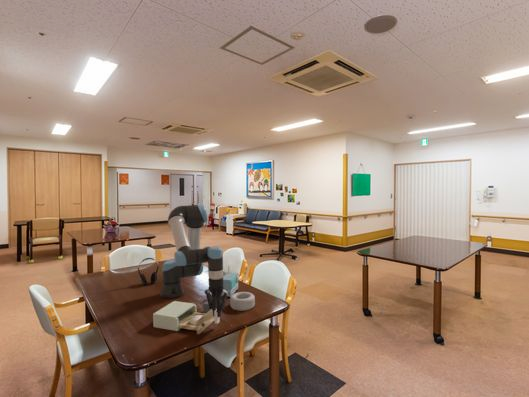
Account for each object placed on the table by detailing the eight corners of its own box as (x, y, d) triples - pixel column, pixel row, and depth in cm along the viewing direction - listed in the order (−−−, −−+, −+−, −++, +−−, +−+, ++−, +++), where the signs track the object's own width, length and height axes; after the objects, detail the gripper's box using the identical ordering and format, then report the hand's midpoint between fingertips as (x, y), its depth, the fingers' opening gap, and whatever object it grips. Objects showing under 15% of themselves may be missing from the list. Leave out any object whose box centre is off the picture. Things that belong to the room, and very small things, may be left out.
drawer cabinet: (153, 326, 152) (153, 313, 151) (174, 312, 168) (174, 300, 168) (177, 331, 147) (177, 317, 146) (196, 316, 164) (196, 303, 163)
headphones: (137, 284, 220) (136, 258, 219) (157, 280, 228) (156, 255, 227) (139, 287, 212) (138, 260, 212) (160, 283, 221) (159, 257, 220)
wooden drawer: (173, 329, 148) (172, 317, 147) (192, 314, 164) (192, 303, 164) (200, 334, 142) (200, 321, 142) (218, 318, 159) (217, 307, 159)
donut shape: (234, 313, 166) (234, 302, 166) (227, 304, 180) (227, 293, 180) (258, 308, 172) (258, 297, 172) (249, 299, 186) (249, 289, 186)
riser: (203, 313, 166) (202, 303, 166) (207, 310, 171) (207, 300, 171) (210, 314, 165) (210, 304, 164) (215, 311, 169) (214, 301, 169)
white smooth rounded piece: (186, 324, 150) (186, 321, 150) (194, 317, 158) (194, 314, 158) (200, 325, 148) (200, 322, 148) (207, 318, 156) (207, 316, 156)
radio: (232, 298, 189) (231, 268, 188) (219, 297, 191) (218, 267, 190) (240, 289, 204) (239, 261, 204) (228, 288, 206) (227, 261, 206)
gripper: (200, 278, 147) (202, 324, 148) (223, 281, 143) (225, 327, 144) (208, 274, 154) (209, 317, 155) (230, 276, 150) (231, 321, 151)
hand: (217, 322), depth 149 cm, fingers closed
